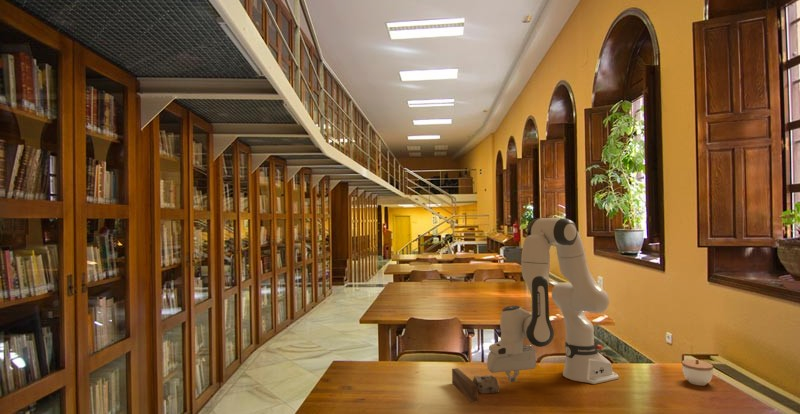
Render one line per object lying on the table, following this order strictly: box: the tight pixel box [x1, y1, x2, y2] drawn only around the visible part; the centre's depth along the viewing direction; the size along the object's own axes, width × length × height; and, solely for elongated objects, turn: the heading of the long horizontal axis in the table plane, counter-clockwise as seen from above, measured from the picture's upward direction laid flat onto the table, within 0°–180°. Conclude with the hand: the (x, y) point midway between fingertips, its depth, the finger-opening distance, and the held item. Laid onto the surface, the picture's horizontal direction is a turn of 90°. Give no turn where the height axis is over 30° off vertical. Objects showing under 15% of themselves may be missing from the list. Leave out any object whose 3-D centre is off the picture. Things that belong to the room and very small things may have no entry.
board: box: [451, 368, 479, 403], centre depth 182 cm, size 2×20×6 cm, turn 14°
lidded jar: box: [681, 358, 714, 386], centre depth 190 cm, size 11×11×9 cm
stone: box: [472, 374, 500, 394], centre depth 185 cm, size 13×6×10 cm
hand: (512, 381), depth 187 cm, fingers closed
